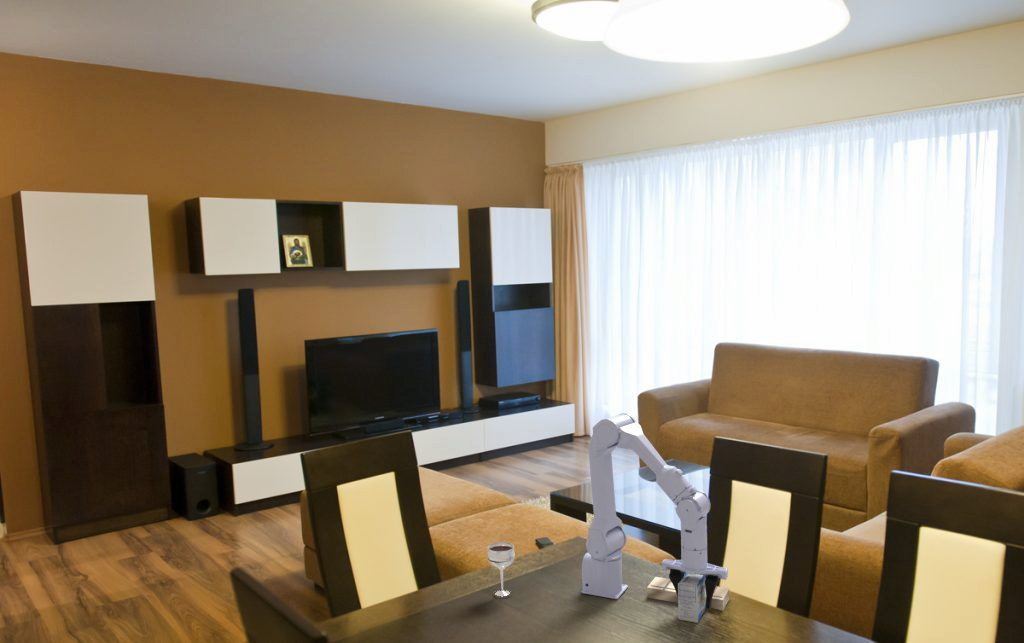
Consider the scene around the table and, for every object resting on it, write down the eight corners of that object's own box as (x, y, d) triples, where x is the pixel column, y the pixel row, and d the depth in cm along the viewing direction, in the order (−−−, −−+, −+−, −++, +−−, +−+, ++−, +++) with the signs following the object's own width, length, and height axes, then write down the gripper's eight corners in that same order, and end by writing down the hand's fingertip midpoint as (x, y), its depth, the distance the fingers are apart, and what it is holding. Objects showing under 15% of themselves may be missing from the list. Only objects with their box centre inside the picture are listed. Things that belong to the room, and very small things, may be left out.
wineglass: (510, 601, 184) (508, 553, 183) (484, 598, 187) (482, 550, 186) (520, 590, 190) (518, 543, 190) (495, 587, 193) (493, 540, 192)
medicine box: (697, 623, 170) (697, 585, 169) (677, 620, 172) (677, 582, 171) (706, 609, 177) (706, 573, 176) (686, 606, 179) (686, 569, 178)
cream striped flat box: (647, 597, 184) (647, 586, 184) (655, 586, 190) (655, 576, 190) (723, 610, 176) (722, 599, 176) (729, 598, 182) (729, 587, 182)
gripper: (657, 547, 173) (658, 606, 174) (722, 556, 166) (723, 617, 167) (666, 537, 179) (667, 594, 180) (729, 546, 172) (730, 604, 173)
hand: (695, 604), depth 174 cm, fingers open, 5 cm apart
